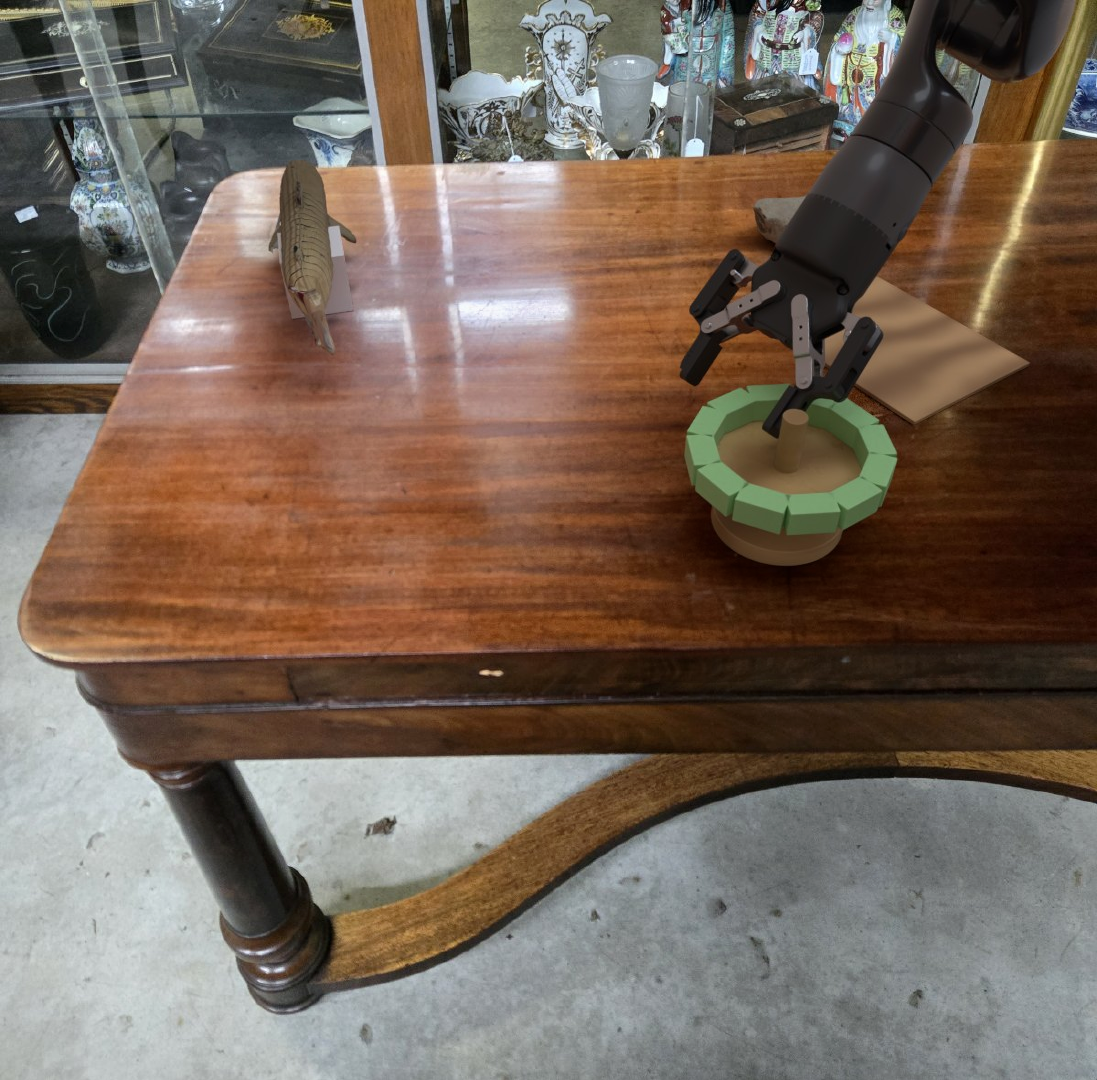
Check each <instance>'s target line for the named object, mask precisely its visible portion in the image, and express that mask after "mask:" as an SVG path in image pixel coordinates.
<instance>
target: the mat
mask: <svg viewBox="0 0 1097 1080" xmlns="http://www.w3.org/2000/svg"><path fill="white" fill-rule="evenodd" d="M852 314H853V315H856V316H858V317H860V318H862V317H870V318H871V319H872V320H873V321H875V323H876V324H877V325H878V326H879V327H880V329H881V330H882V332H883V339H882V341H881V342H880V344H879V346H878V347H877V349H876V351H875V352H874V354H873V355H872V357H871V359H870V360H869V362H868V364H867V365H866V367H865V369H864V370H863V372H862V373H861V375H860V377H859V378H858V380H857V382H856V383H855V385H854V387H855V388H857V389H858V390H860V391H861V392H863V393H864V394H866V395H867V396H869V397H870V398H871V399H873V400H874V401H876V402H877V403H879V404H881V406H884V407H885V408H886V409H888V410H890V411H891V412H893V413H895V414H896V415H897V416H899V417H901V418H902V419H903V420H905V421H907V422H908V423H909V424H911V425H913V426H915V425H918V424H919V423H921V422H923V421H925V420H927V419H929V418H930V417H933V416H935V415H937V414H938V413H940V412H943V411H944V410H946V409H948V408H950V407H952V406H954V405H956V404H958V403H960V402H962V401H963V400H965V399H968V398H969V397H972V396H974V395H975V394H978V393H979V392H981V391H983V390H986V389H987V388H989V387H991V386H993V385H995V384H997V383H999V382H1000V381H1003V380H1004V379H1006V378H1008V377H1010V376H1012V375H1014V374H1016V373H1018V372H1019V371H1022V370H1024V369H1025V368H1027V367H1028V368H1029V366H1030V364H1031V362H1029V361H1028V360H1026V359H1025V358H1022V357H1021V356H1019V355H1017V354H1016V353H1013V352H1012V351H1010V350H1008V349H1006V348H1005V347H1003V346H1002V345H999V344H998V343H996V342H994V341H992V340H991V339H989V338H988V337H985V336H984V335H981V334H980V333H978V332H976V331H975V330H973V329H971V328H969V327H968V326H966V325H965V324H962V323H960V322H959V321H957V320H956V319H953V318H951V316H948V315H947V314H945V313H943V312H941V311H939V310H937V309H936V308H934V307H932V306H931V305H929V304H927V303H925V302H924V301H922V300H920V299H918V298H917V297H915V296H913V295H912V294H910V293H908V292H906V291H904V290H902V289H900V288H899V287H897V286H895V285H893V284H891V283H890V282H888V281H887V280H885V279H883V278H881V277H880V276H878V275H877V276H876V277H875V279H874V280H873V282H872V283H871V285H870V286H869V288H868V289H867V291H866V292H865V294H864V295H863V296H862V297H861V298H860V299H859V300H858V301H857V302H856V303H855V305H854V307H853V310H852ZM844 332H845V329H844V330H842V331H840V332H838V333H836V334H834V335H832V336H830V337H828V338H826V339H825V367H824V368H826V369H828V370H829V368H830V366H831V365H832V363H833V361H834V360H835V358H836V356H837V355H838V353H839V351H840V350H841V348H842V346H843V345H844V343H845V342H844V341H843V335H844Z"/></svg>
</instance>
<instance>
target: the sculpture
mask: <svg viewBox="0 0 1097 1080" xmlns="http://www.w3.org/2000/svg"><path fill="white" fill-rule="evenodd" d="M805 197H806V195H803V196H797V197H766V198H765V197H764V198H760V199H759V200H757V201H756V202H755V203H754V205H753V206H752V210H753V212H754V220H755V223H756V227H757V229H758V231H759V233H760V234H761V235H762V236H763V237H764V239H766V240H768V241H771V242H772V243H774V244H776V242H777V240H778V238H779V237H780V235H781V234H782V232H783V231H784V229H785V228H786V226H787V225H788V223H789V222H790V220H791V218H792V217H793V215H794V214H795V212H796V211H797V209H798V208H799V206H800V205H801V203H802V202H803V200H804V199H805Z"/></svg>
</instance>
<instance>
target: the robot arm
mask: <svg viewBox="0 0 1097 1080" xmlns="http://www.w3.org/2000/svg"><path fill="white" fill-rule="evenodd" d="M1076 2H1077V0H914V1H913V5H912V9H911V12H910V14H909V18H908V21H907V24H906V28H905V31H904V34H903V37H902V40H901V42H900V44H899V47H898V50H897V53H896V55H895V58H894V60H893V62H892V64H891V66H890V68H889V71H888V73H887V74H886V77H884V80H883V81H882V84H881V86H880V88H879V89H878V90H877V93H876V94H875V96H874V98H873V99H872V101H871V102H870V104H869V105H868V107H867V108H866V110H865V112H864V113H863V115H862V116H861V118H860V119H859V120H858V122H857V123H856V125H855V127H854V129H853V130H852V131H851V133H850V134H849V136H848V138H847V139H846V140H845V141H844V143H843V144H842V146H841V147H840V148H839V149H838V150H837V151H836V152H835V154H834V155H833V156H832V157H831V158H830V160H829V161H828V162H827V163H826V165H825V166H824V168H823V169H822V171H821V172H820V174H819V175H818V177H817V179H816V180H815V182H814V183H813V185H812V186H811V187H810V189H809V191H808V193H807V194H805V196H806V197H805V199H804V200H803V202H802V203H801V205H800V206H799V208H798V209H797V211H796V212H795V214H794V215H793V217H792V218H791V220H790V222H789V223H788V225H787V226H786V228H785V229H784V231H783V232H782V234H781V235H780V237H779V238H778V240H777V242H776V243H774V244H775V245H774V248H773V250H772V254H771V255H770V257H769V258H768V259H767V260H765V262H763V263H762V264H761V265H758V264H756V263H754V262H753V261H751V260H749V259H748V257H746V256H745V255H744V254H743V253H742V251H740V249H737V248H732V249H731V250H729V251H728V252H727V253H726V255H725V256H724V258H723V259H722V261H721V262H720V264H719V265H718V266H717V268H716V269H715V271H714V272H713V273H712V274H711V276H710V278H709V279H708V280H707V281H706V283H704V286H702V289H701V290H700V291H699V293H698V294H697V295H696V297H695V298H694V300H693V301H692V302H691V304H690V306H689V308H688V311H689V314H690V315H691V316H692V317H693V318H694V320H695V321H696V323H697V324H698V326H699V333H698V335H697V336H696V338H695V339H694V341H693V342H692V344H691V346H690V347H689V349H688V351H686V353H685V355H684V356H683V358H682V360H681V361H680V365H679V369H681V370H680V372H679V378H680V379H682V380H683V381H684V382H685V383H687V384H689V385H691V386H692V387H694V388H695V387H697V386H699V385H700V384H701V382H702V381H703V379H704V377H705V376H706V375H707V373H708V372H709V370H710V368H711V367H712V365H713V364H714V363H715V361H716V359H717V357H718V356H719V355H720V353H721V351H722V350H723V349H724V347H723V346H722V345H720V344H723V343H726V342H728V341H730V340H732V339H734V338H736V337H739V336H740V335H749V334H751V333H754V332H757V331H759V332H760V333H762V335H764V336H766V337H768V338H769V339H773V340H777V341H779V342H780V343H781V344H782V345H784V346H785V347H786V348H788V350H790V351H792V355H793V358H794V361H795V363H794V364H795V365H794V366H795V367H794V368H795V384H794V386H792V385H791V384H790V385H789V386H788V388H787V389H786V390H785V392H784V393H783V395H782V396H781V398H780V399H779V401H778V402H777V404H776V405H775V407H774V408H773V410H772V411H771V413H770V414H769V416H768V417H767V419H766V420H765V422H764V423H763V425H762V430H764V431H765V432H767V433H768V434H769V435H771V436H773V437H774V438H776V439H779V433H780V428H781V422H782V417H783V413H784V412H785V411H787V410H789V409H799V410H802V411H804V412H806V410H807V409H808V407H809V406H810V404H811V403H812V402H813V401H814V400H816V399H820V398H822V399H829V400H833V401H834V402H837V403H840V402H843V401H844V400H845V399H846V398H847V399H848V397H849V395H850V393H851V392H852V390H853V389H854V387H855V386H854V385H855V383H856V382H857V380H858V378H859V377H860V375H861V373H862V372H863V370H864V369H865V367H866V365H867V364H868V362H869V360H870V359H871V357H872V355H873V354H874V352H875V351H876V349H877V347H878V346H879V344H880V342H881V341H882V339H883V332H882V330H881V329H880V327H879V326H878V325H877V324H876V323H875V321H873V320H872V319H871V318H870V317H862V318H860V317H858V316H856V315H853V314H852V310H853V307H854V305H855V303H856V302H857V301H858V300H859V299H860V298H861V297H862V296H863V295H864V294H865V292H866V291H867V289H868V288H869V286H870V285H871V283H872V282H873V280H874V279H875V277H876V276H877V277H878V275H879V274H880V272H881V270H882V269H883V267H884V265H885V264H886V263H887V261H888V260H889V258H890V257H891V255H892V254H893V252H894V251H895V250H896V248H897V246H898V245H899V244H900V243H901V242H902V241H903V240H904V238H906V237H905V236H906V235H907V233H908V231H909V229H910V227H911V225H912V224H913V223H914V221H915V220H916V218H917V217H918V214H919V212H920V210H921V208H922V207H923V204H924V202H925V201H926V199H927V197H928V195H929V194H930V192H931V189H932V188H933V187H934V185H936V183H937V181H938V179H940V176H941V175H942V174H943V172H944V171H945V169H946V168H947V166H948V165H949V163H950V162H951V160H952V159H953V158H954V155H955V154H956V153H957V151H958V150H959V148H960V147H961V145H962V144H963V142H965V139H966V138H967V136H968V134H969V132H970V131H971V128H972V126H973V122H974V112H973V109H972V107H971V105H970V103H969V102H968V101H967V100H968V99H966V98H965V96H964V95H963V94H962V92H960V91H959V89H957V88H956V86H954V85H953V83H951V81H949V80H948V78H947V77H946V76H945V75H944V73H943V72H942V71H941V69H940V67H939V66H938V65H939V64H938V62H937V50H938V51H941V52H942V51H943V53H944V54H946V55H948V56H949V57H951V58H953V59H955V60H957V62H960V63H961V64H964V65H965V66H967V67H968V68H970V69H972V70H974V71H975V72H977V73H978V74H980V75H982V76H983V77H985V78H987V79H989V80H991V81H993V82H995V83H999V84H1006V85H1007V84H1015V83H1019V82H1022V81H1025V80H1027V79H1030V78H1031V77H1033V76H1035V75H1036V74H1037V73H1039V72H1040V71H1041V70H1043V68H1045V66H1047V65H1048V63H1049V62H1050V61H1051V60H1052V58H1053V57H1054V55H1055V54H1056V52H1057V51H1058V49H1059V48H1060V45H1061V44H1062V42H1063V40H1064V38H1065V36H1066V33H1067V31H1068V28H1069V26H1070V22H1071V20H1072V17H1073V14H1074V11H1075V7H1076ZM749 283H750V286H751V287H750V293H748V294H746V295H743V296H742V297H739V298H738V299H736V300H733V298H734V297H735V296H736V294H737V293H738V292H739V290H740V289H741V288H746V287H748V285H749ZM844 329H845V332H844V335H843V341H844V342H845V343H844V345H843V346H842V348H841V350H840V351H839V353H838V355H837V356H836V358H835V360H834V361H833V363H832V365H831V366H830V368H829V369H828V370H827V371H826V373H825V374H824V368H826V367H825V339H826V338H828V337H830V336H832V335H834V334H836V333H838V332H840V331H842V330H844Z"/></svg>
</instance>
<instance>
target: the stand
mask: <svg viewBox="0 0 1097 1080" xmlns="http://www.w3.org/2000/svg"><path fill="white" fill-rule="evenodd" d="M808 420H809V417H808V415H807V413H805V412H804V411H802V410H799V409H789V410H787V411H785V412H784V413H783V417H782V422H781V428H780V433H779V439H776V438H774V437H773V436H771V435H769V434H768V433H767V432H765V431H764V430H762V425H763V423H764V422H765V421H752V422H750V423H748V424H746V425H743V426H741V427H739V428H737V429H735V430H733V431H731V432H729V433H727V434H724V436H723V437H722V439H721V441H720V442H719V444H718V446H717V449H718V453H719V456H720V460H721V462H723V463H724V464H725V465H726V466H727V467H729V468H730V469H731V470H732V471H734V472H735V473H736V474H737V475H739V476H740V477H741V478H742V479H744V480H745V481H746V482H747V483H750V484H753V485H757V486H760V487H764V488H767V489H770V490H774V491H777V492H781V493H784V494H788V495H792V494H809V493H826V492H831V491H833V490H835V489H837V488H839V487H841V486H842V485H844V484H846V483H848V482H850V481H852V480H854V479H856V478H858V477H859V475H860V473H861V470H862V469H861V466H860V464H859V462H858V459H857V457H856V455H855V453H854V450H853V449H852V448H851V447H850V446H848V445H847V444H845V443H844V442H843V441H841V440H840V439H838V438H837V437H836V436H834V435H833V434H831V433H830V432H828V431H827V430H826V429H823V428H819V427H815V426H811V425H808ZM732 517H733V513H732V514H730V515H728V516H727V517H726V516H724V515H723V514H722V513H721V512H720V511H718V510H717V509H716V508H715V507H714V506H713V505H711V511H710V519H711V524H712V527H713V529H714V532H715V533H716V535H717V537H718V538H719V539H720V540H721V541H722V542H723V543H724V545H726V546H727V547H728V548H729V549H731V550H732V551H733V552H735V553H736V554H738V555H740V556H741V557H744V558H746V559H749V560H752V561H754V562H756V563H760V564H764V565H770V566H778V567H781V566H782V567H792V566H793V567H794V566H802V565H805V564H809V563H810V564H811V563H813V562H815V561H818V560H820V559H822V558H824V557H825V556H827V555H829V554H830V553H831V552H832V551H833V550H834V549H835V548H836V547H837V545H838V544H839V542H840V541H841V539H842V535H843V531H844V530H841V529H840V528H838V527H837V528H836V532H835V533H819V534H803V535H787V534H786V531H785V528H784V526H783V528H782V530H781V532H780V534H776V533H772V532H769V531H766V530H762V529H759V528H756V527H753V526H749V525H746V524H743V523H740V522H736V521H733V520H732Z"/></svg>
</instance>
